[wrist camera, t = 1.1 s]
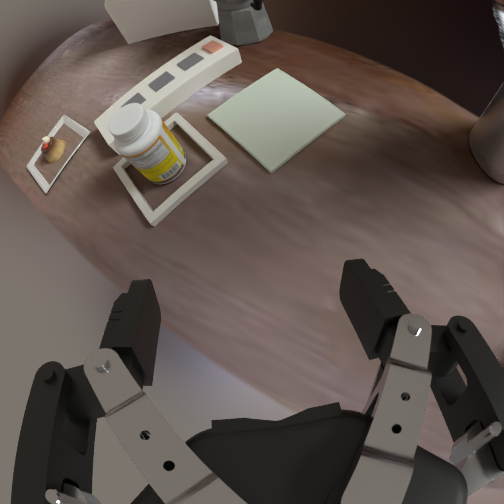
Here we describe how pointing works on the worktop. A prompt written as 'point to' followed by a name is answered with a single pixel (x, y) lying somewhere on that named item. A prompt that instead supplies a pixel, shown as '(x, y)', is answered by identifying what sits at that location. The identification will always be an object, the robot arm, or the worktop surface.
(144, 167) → the supplement bottle
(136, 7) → the white slotted block
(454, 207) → the worktop surface
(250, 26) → the coffeepot
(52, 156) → the dessert
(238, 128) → the mat
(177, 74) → the power strip
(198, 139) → the white square frame
